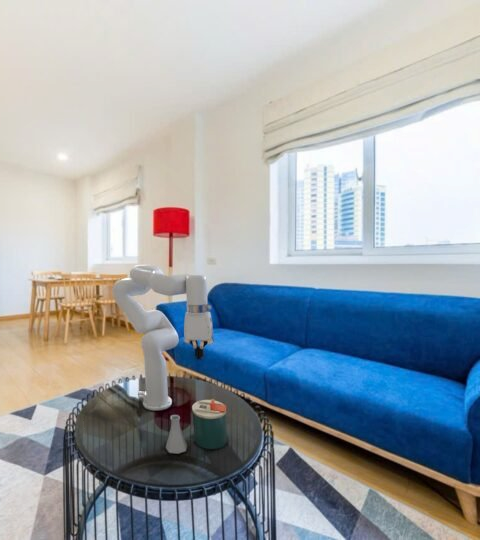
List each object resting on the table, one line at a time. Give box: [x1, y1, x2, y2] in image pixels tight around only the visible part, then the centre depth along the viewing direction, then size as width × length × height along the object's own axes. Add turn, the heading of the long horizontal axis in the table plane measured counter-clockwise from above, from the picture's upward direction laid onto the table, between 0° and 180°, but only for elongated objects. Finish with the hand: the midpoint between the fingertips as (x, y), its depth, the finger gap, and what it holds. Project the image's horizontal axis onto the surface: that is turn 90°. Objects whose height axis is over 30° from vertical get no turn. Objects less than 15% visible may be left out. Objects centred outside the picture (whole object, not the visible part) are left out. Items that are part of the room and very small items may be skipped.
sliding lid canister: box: [191, 399, 228, 450], centre depth 98 cm, size 11×11×11 cm
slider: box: [210, 398, 227, 413], centre depth 97 cm, size 5×4×2 cm
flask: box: [165, 414, 188, 455], centre depth 94 cm, size 7×7×10 cm
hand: (199, 358), depth 106 cm, fingers closed
